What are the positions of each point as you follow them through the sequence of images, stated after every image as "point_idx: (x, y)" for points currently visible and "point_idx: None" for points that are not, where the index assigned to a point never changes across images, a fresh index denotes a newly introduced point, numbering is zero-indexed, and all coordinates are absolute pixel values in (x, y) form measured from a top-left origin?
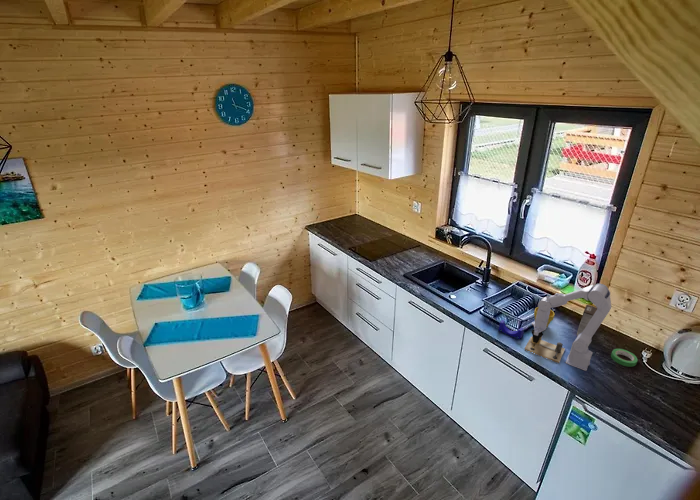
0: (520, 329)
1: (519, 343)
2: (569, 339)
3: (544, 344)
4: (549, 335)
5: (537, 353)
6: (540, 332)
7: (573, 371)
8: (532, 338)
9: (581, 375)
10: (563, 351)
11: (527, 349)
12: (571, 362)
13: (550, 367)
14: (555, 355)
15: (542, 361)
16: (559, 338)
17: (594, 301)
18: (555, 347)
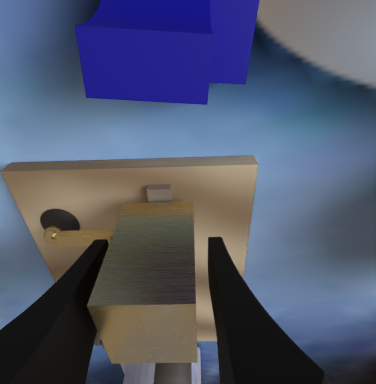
0: (127, 55)
1: (63, 91)
2: (361, 327)
3: (196, 268)
4: (364, 252)
5: (45, 259)
6: (194, 346)
7: (89, 366)
8: (112, 241)
9: (91, 380)
10: (199, 340)
11: (13, 196)
12: (125, 372)
13: (15, 314)
14: (96, 344)
15: (21, 282)
16: (350, 297)
17: None
18: (210, 312)
